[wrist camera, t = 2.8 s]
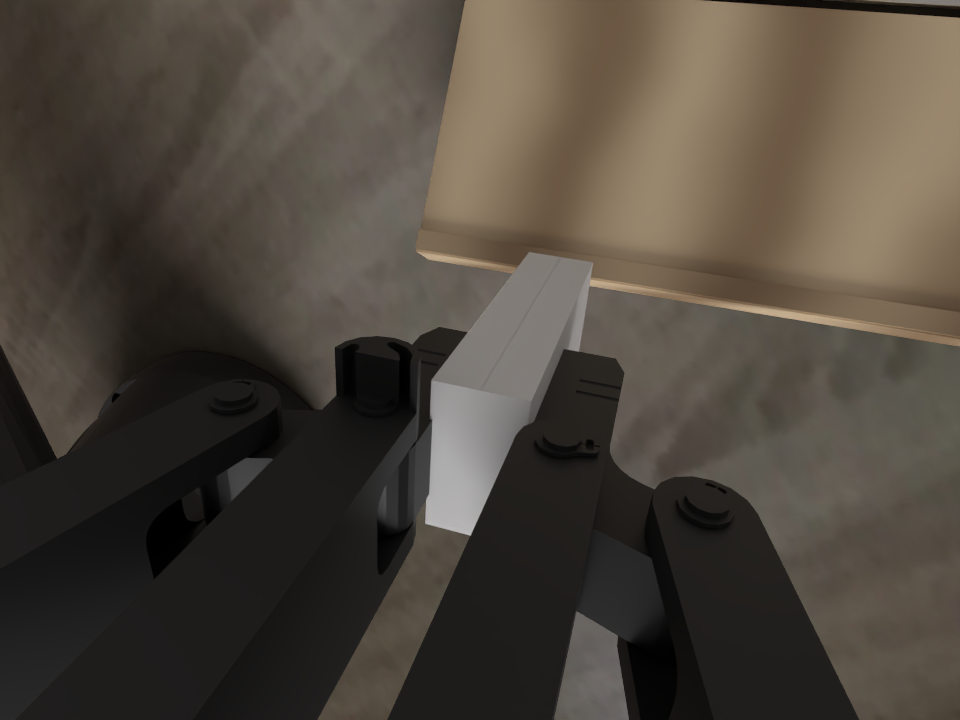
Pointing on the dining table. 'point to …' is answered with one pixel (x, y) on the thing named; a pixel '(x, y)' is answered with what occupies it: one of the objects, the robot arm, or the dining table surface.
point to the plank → (711, 155)
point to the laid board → (912, 3)
